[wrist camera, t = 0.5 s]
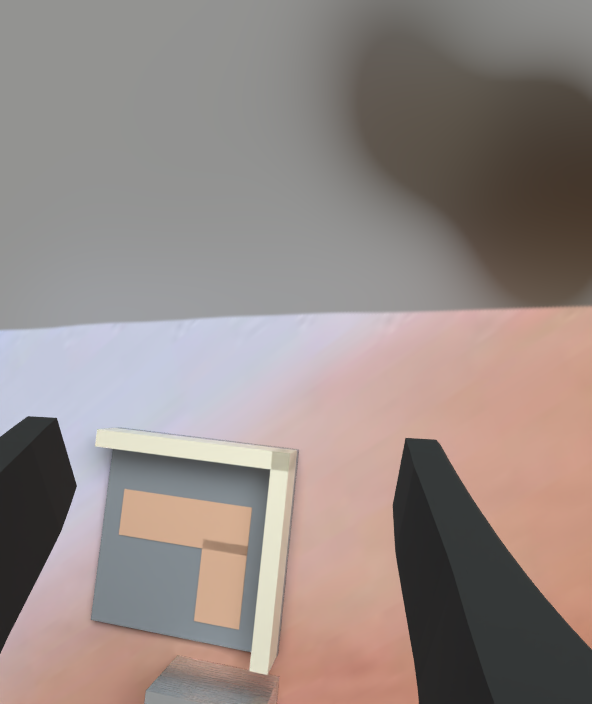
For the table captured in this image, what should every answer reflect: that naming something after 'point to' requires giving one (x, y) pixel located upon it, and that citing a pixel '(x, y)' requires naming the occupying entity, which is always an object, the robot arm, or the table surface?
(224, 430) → the table surface
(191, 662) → the bracket
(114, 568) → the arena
